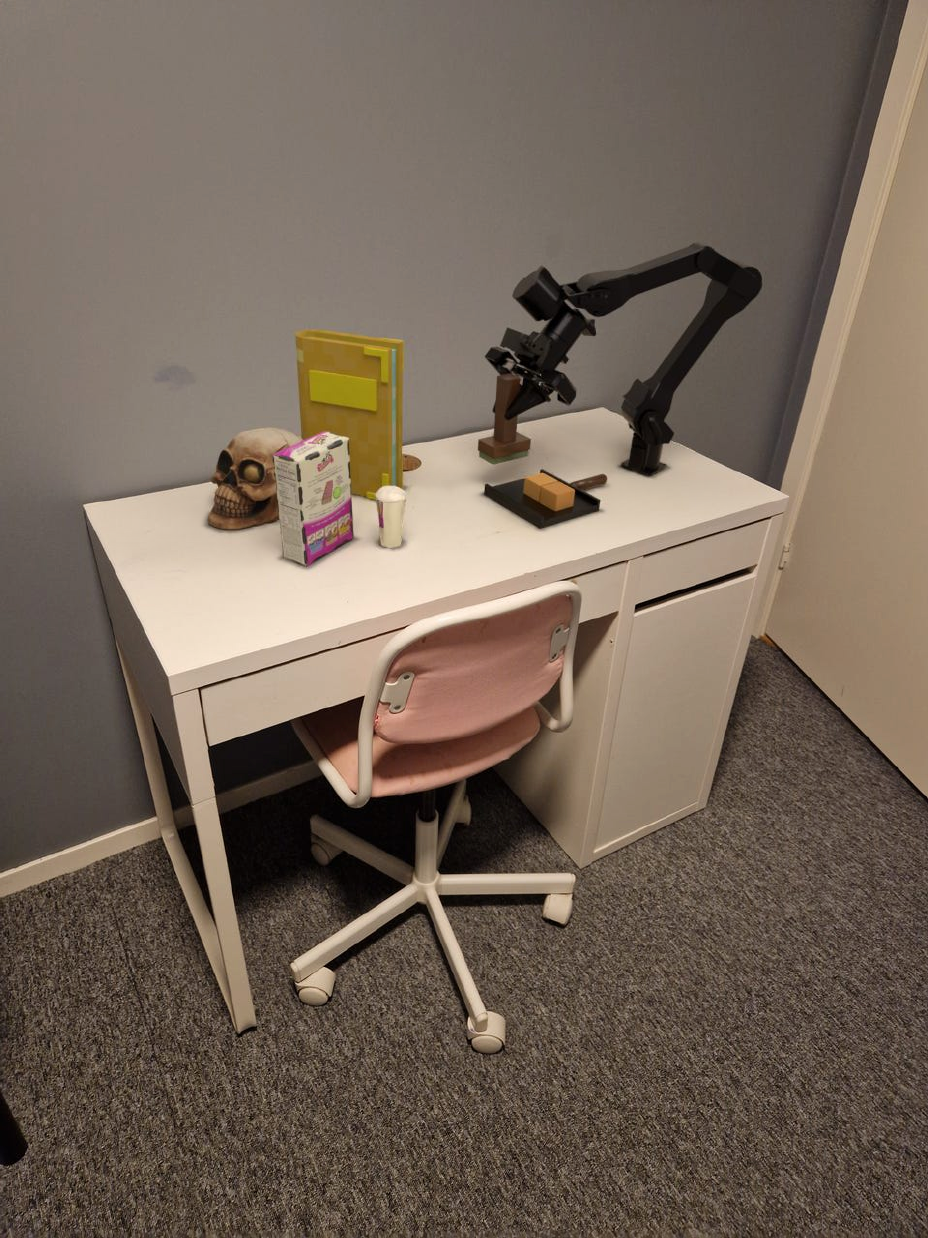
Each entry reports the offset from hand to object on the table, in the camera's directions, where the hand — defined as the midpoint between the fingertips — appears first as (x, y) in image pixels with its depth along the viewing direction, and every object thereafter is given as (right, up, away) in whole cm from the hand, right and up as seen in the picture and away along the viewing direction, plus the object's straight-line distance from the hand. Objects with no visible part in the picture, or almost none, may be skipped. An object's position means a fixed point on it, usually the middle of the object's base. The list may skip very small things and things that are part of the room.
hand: (499, 415), depth 143 cm
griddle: (+11, -13, +4) cm, 17 cm away
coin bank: (-39, -16, -4) cm, 42 cm away
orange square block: (+9, -15, -1) cm, 18 cm away
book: (-26, -11, +4) cm, 28 cm away
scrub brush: (+1, -6, +5) cm, 8 cm away
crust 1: (+7, -13, +2) cm, 15 cm away
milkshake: (-17, -23, -13) cm, 31 cm away
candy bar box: (-28, -24, -15) cm, 40 cm away
